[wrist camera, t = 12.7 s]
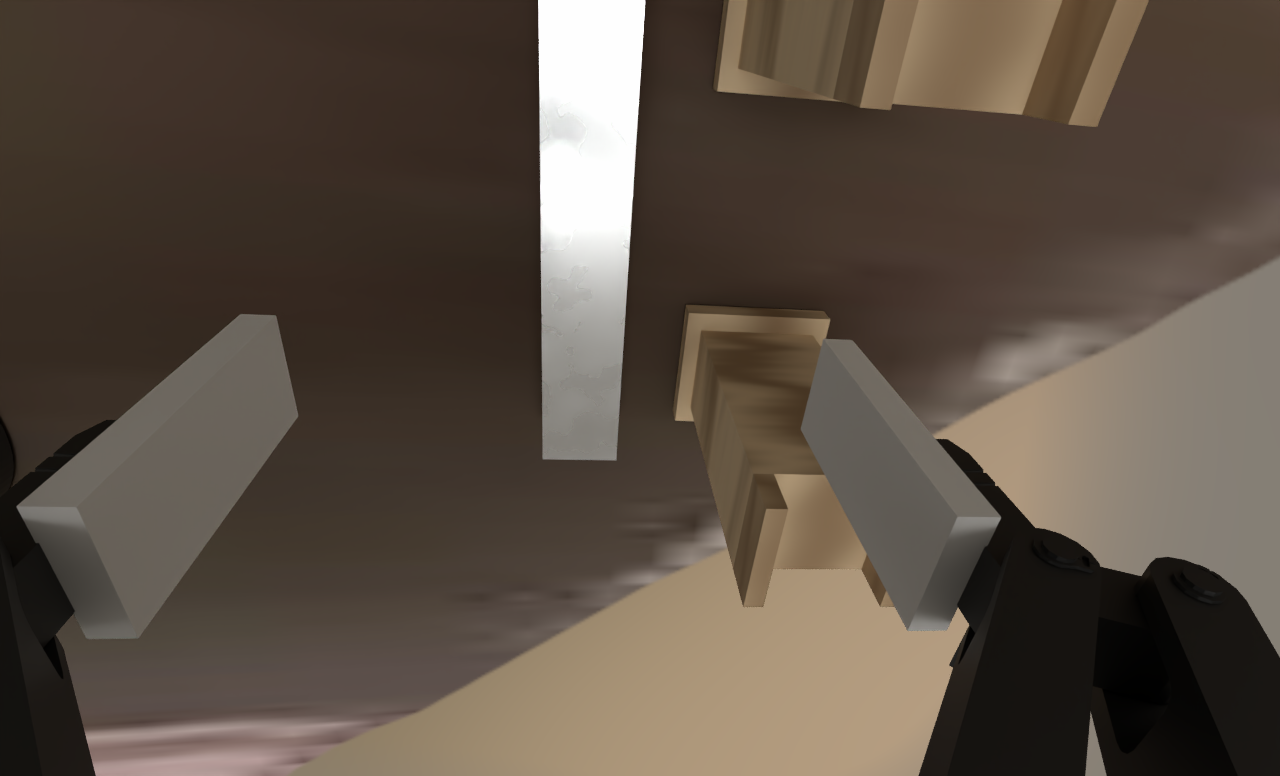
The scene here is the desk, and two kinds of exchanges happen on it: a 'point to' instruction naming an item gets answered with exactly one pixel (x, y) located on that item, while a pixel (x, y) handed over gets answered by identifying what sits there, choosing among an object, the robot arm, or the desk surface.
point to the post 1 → (764, 443)
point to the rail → (586, 215)
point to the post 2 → (931, 53)
